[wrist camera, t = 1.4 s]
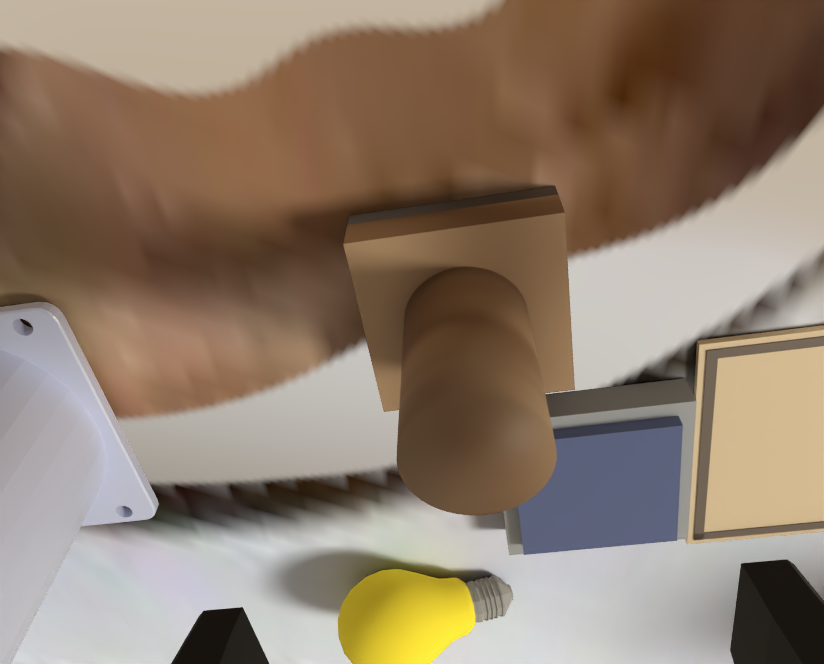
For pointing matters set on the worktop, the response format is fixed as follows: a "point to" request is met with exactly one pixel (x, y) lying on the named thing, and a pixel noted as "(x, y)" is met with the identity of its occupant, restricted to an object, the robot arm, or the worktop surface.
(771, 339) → the card sheet
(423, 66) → the worktop surface
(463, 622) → the light bulb
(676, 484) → the ink pad
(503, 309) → the stamp
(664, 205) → the worktop surface
